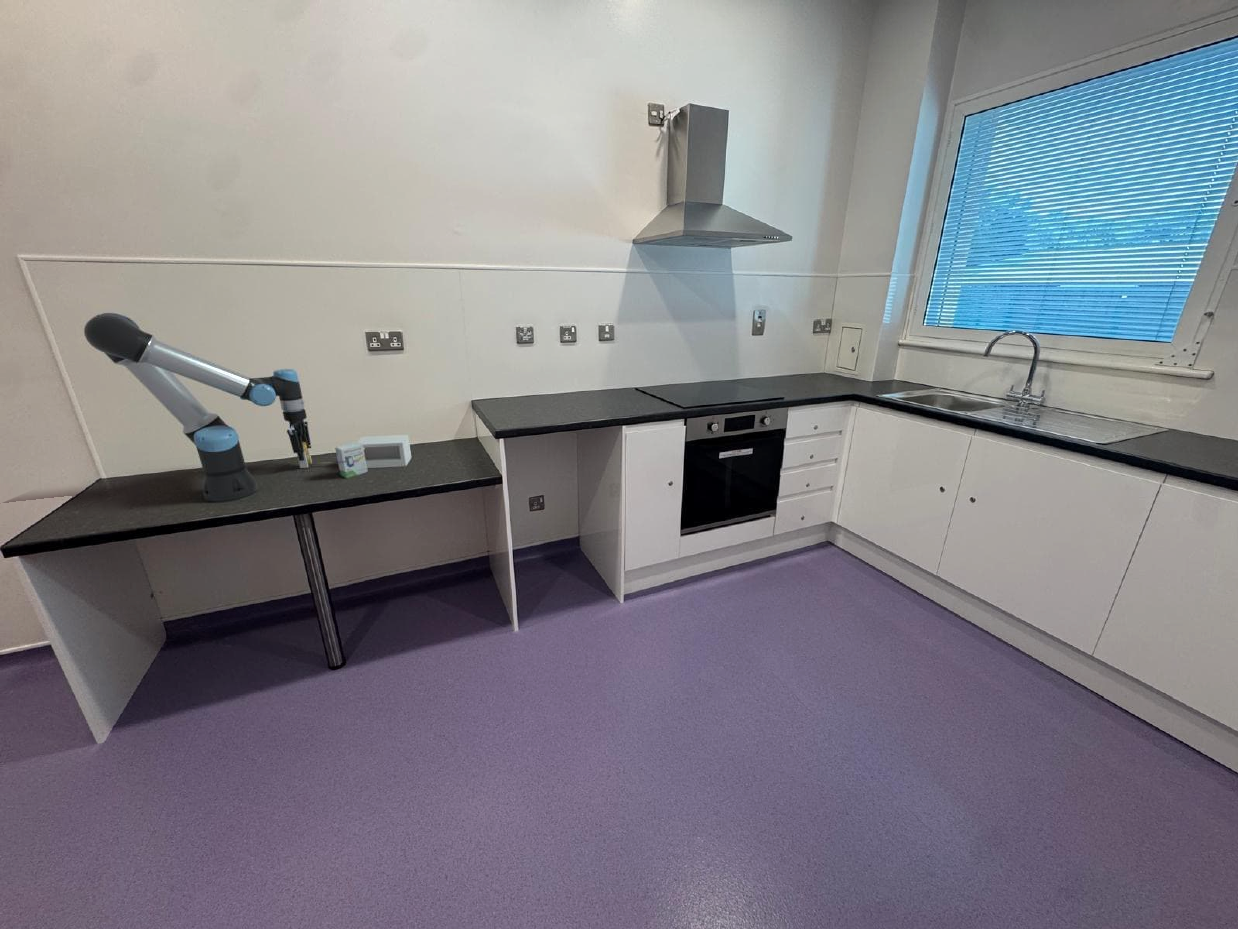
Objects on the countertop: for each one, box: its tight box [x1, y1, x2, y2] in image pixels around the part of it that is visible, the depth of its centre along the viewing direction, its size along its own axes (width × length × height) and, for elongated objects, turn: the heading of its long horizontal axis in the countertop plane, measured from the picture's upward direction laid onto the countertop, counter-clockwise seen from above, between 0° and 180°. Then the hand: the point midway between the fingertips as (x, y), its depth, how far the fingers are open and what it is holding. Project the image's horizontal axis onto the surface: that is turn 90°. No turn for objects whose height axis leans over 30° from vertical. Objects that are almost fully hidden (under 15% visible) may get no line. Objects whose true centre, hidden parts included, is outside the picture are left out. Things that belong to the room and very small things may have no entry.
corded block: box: [302, 442, 338, 468], centre depth 200 cm, size 22×6×10 cm, turn 101°
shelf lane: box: [356, 434, 412, 469], centre depth 204 cm, size 18×11×10 cm, turn 101°
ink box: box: [335, 441, 368, 479], centre depth 192 cm, size 9×5×12 cm, turn 143°
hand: (306, 465), depth 200 cm, fingers closed on corded block, 3 cm apart
